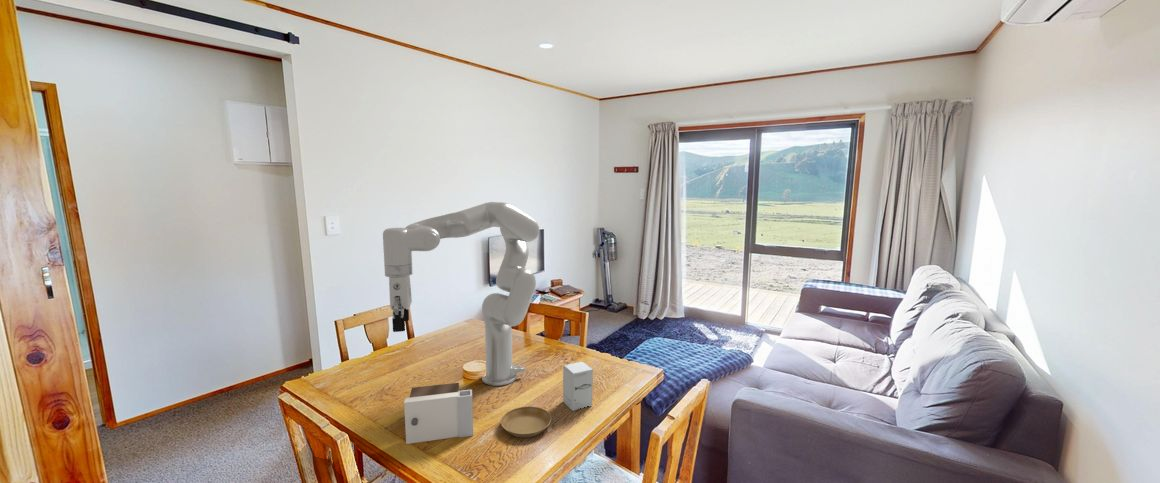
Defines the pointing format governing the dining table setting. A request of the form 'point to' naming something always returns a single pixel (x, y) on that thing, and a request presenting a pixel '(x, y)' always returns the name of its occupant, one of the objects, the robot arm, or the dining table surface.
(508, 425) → the plant saucer
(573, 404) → the supplement box
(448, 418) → the door
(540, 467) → the dining table surface
